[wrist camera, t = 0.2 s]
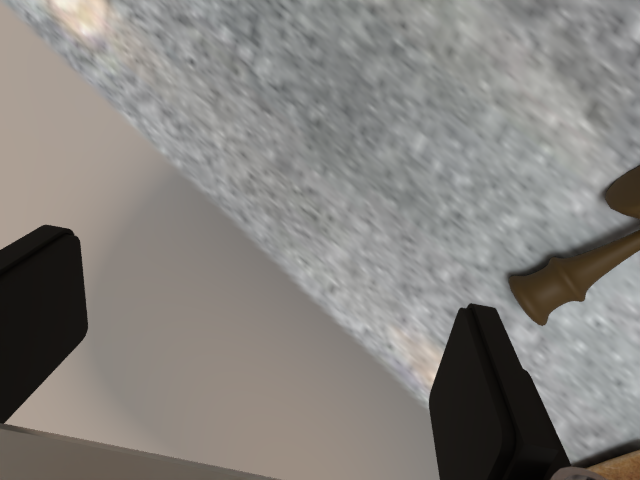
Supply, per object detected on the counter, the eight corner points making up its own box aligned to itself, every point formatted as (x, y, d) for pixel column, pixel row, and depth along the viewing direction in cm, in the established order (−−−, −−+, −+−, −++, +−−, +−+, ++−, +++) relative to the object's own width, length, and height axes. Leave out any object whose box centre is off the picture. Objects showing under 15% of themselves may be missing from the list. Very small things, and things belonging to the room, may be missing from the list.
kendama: (485, 253, 44) (703, 121, 36) (536, 317, 46) (749, 206, 39) (500, 287, 38) (759, 140, 31) (557, 357, 41) (808, 237, 34)
